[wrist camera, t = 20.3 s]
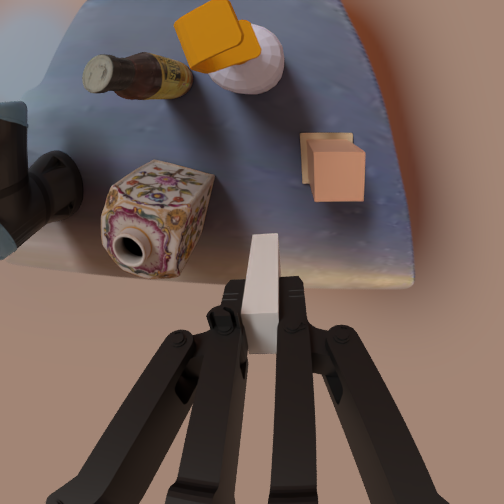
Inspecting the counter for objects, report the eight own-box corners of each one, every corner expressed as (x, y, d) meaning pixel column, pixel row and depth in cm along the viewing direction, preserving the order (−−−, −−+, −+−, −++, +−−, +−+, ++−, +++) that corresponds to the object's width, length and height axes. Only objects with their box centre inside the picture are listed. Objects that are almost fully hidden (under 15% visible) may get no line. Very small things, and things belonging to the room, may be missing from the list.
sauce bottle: (203, 80, 34) (140, 71, 18) (174, 106, 37) (98, 120, 20) (177, 53, 32) (102, 33, 15) (149, 80, 35) (66, 82, 18)
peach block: (308, 178, 41) (314, 201, 32) (306, 139, 37) (313, 151, 29) (346, 178, 40) (363, 201, 31) (346, 139, 37) (365, 152, 28)
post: (302, 182, 42) (305, 198, 36) (299, 133, 38) (303, 139, 31) (351, 181, 41) (363, 197, 34) (351, 133, 36) (364, 140, 30)
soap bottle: (292, 84, 34) (305, 62, 13) (233, 102, 36) (168, 109, 15) (272, 33, 30) (257, -43, 9) (213, 51, 32) (131, 8, 11)
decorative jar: (144, 216, 48) (92, 273, 33) (152, 157, 42) (88, 196, 27) (203, 234, 49) (169, 301, 34) (218, 174, 43) (180, 223, 27)
